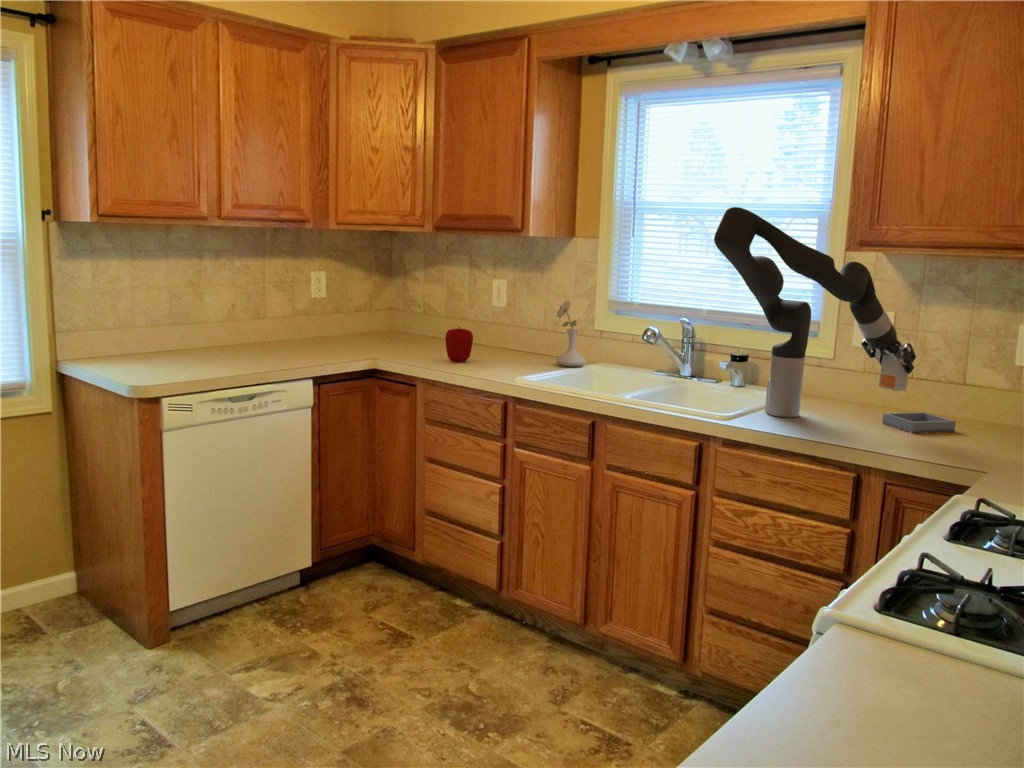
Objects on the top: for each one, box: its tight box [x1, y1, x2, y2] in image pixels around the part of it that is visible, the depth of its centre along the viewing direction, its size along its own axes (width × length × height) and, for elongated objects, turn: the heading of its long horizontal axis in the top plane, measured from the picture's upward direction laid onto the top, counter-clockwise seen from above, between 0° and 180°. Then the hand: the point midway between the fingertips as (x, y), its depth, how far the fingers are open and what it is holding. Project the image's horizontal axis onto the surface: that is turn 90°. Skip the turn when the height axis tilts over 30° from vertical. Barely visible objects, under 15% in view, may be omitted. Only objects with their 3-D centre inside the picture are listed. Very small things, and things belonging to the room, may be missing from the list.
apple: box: [445, 326, 474, 364], centre depth 332 cm, size 10×10×14 cm
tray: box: [881, 411, 956, 434], centre depth 245 cm, size 12×14×3 cm
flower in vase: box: [555, 299, 587, 368], centre depth 330 cm, size 13×11×25 cm
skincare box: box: [878, 349, 909, 392], centre depth 236 cm, size 6×4×12 cm
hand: (898, 368), depth 237 cm, fingers closed on skincare box, 6 cm apart
